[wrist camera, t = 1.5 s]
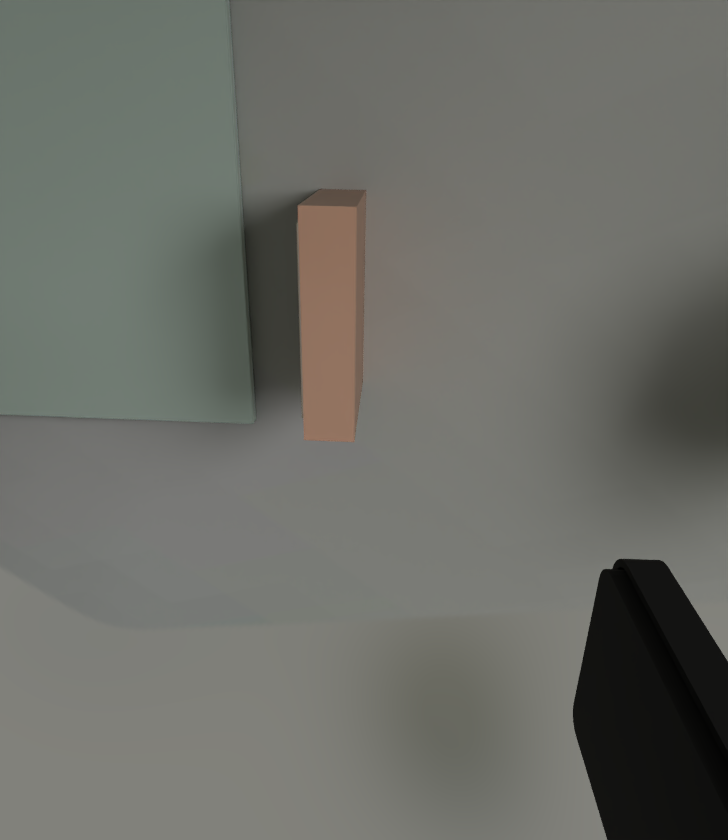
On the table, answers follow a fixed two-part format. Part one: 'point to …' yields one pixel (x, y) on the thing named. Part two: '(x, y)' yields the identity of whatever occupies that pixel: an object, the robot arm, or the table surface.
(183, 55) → the mat
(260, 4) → the table surface
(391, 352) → the table surface
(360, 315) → the tile
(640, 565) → the robot arm
